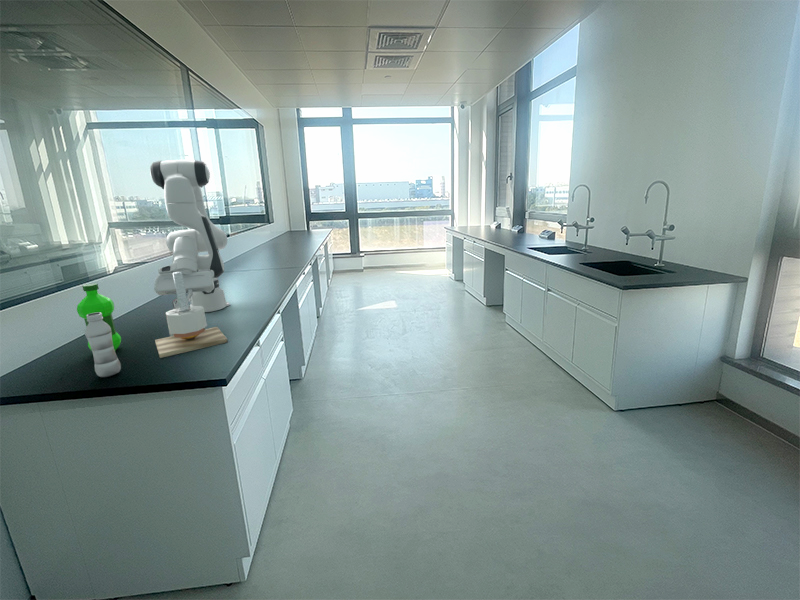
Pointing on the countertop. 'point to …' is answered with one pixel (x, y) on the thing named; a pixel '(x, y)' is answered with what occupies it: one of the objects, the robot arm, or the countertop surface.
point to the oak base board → (189, 342)
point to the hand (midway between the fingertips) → (185, 301)
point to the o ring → (190, 333)
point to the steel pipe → (182, 297)
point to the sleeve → (186, 320)
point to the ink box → (175, 305)
